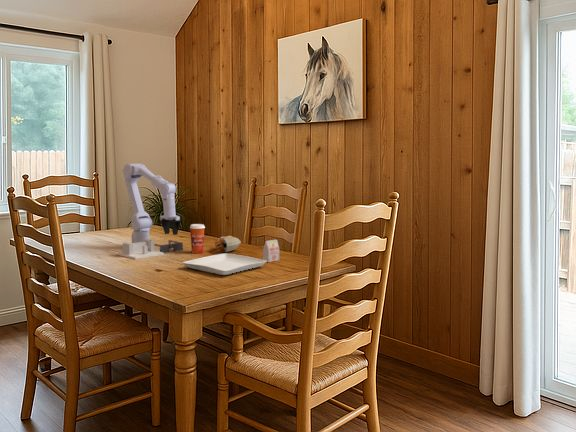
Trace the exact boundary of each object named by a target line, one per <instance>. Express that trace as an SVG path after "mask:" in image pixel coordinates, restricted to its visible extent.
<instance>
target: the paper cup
mask: <svg viewBox="0 0 576 432" xmlns="http://www.w3.org/2000/svg"><path fill="white" fill-rule="evenodd" d="M205 228H206V226H205V224H204V223H203V224H202V223H192V224H190V227H189V229H190V243H191V246H190V247H191V254H195V255H196V254H203V253H204V247H205V245H204V244H205Z"/></svg>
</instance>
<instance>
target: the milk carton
mask: <svg viewBox="0 0 576 432" xmlns="http://www.w3.org/2000/svg"><path fill="white" fill-rule="evenodd" d="M262 260H266V261H267V262H270V263H273V262H272V261H276V262H279V261H280V245H279V242H278V239H272V240H271V239H270V240H265V242H264V246H263V248H262ZM278 260H279V261H278ZM267 262H266V263H267Z"/></svg>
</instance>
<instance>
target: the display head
mask: <svg viewBox="0 0 576 432" xmlns="http://www.w3.org/2000/svg"><path fill="white" fill-rule="evenodd" d="M154 244H155V240H152V239H149V240H148V239H147V240H144V242H137V243H132V242H122V251H119V252H117V253H116V254H117V256H121V257H125V258H129V259H133V260H141V259H147V258H153V257H157V256H158V257H159V256H164V255H165V253H163V252H160V251H157V250H155V248H156V246H154Z"/></svg>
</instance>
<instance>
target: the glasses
mask: <svg viewBox="0 0 576 432" xmlns="http://www.w3.org/2000/svg"><path fill="white" fill-rule="evenodd" d="M183 246H184V245H183V242H182V241H177V240H172V239H168V243H167V244H157V243H154V247H159V252H163V253H164V254H167V253H170V252H171V249H173V252H180V251H183V250H184V249H183V248H184V247H183Z"/></svg>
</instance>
